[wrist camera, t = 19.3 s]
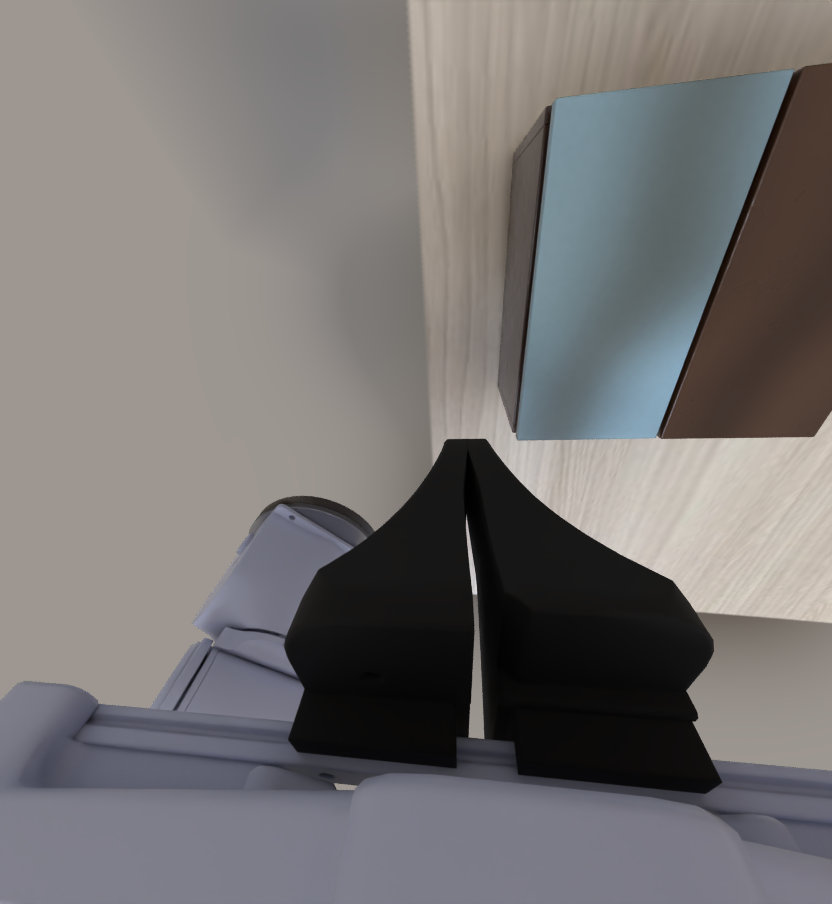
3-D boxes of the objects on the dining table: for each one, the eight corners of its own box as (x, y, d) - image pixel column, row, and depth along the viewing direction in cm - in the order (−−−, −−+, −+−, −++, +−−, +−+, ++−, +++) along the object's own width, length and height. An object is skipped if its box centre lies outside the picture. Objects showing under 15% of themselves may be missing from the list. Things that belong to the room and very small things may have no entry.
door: (515, 436, 15) (517, 440, 14) (552, 102, 9) (555, 97, 9) (650, 434, 14) (656, 438, 14) (782, 74, 8) (796, 67, 8)
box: (497, 386, 20) (515, 441, 14) (513, 152, 14) (553, 95, 9) (706, 379, 19) (815, 438, 13) (818, 118, 13) (1097, 25, 7)
